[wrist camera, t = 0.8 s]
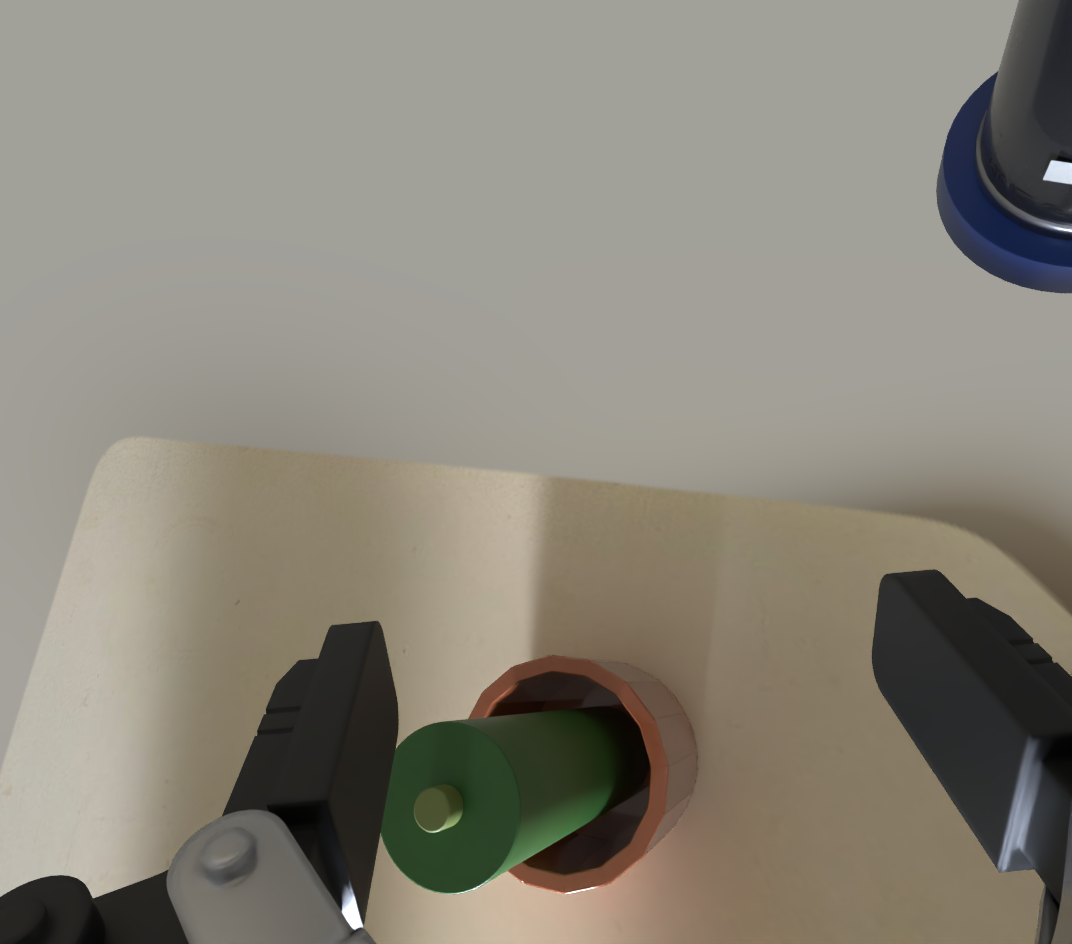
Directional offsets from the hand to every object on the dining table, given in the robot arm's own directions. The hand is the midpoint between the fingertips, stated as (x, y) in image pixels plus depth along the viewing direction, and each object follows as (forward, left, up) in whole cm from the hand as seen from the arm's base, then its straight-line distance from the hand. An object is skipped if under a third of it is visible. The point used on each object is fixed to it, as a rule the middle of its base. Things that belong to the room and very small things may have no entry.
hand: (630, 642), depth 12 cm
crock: (+7, -1, -22) cm, 23 cm away
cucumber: (+7, -1, -21) cm, 22 cm away
